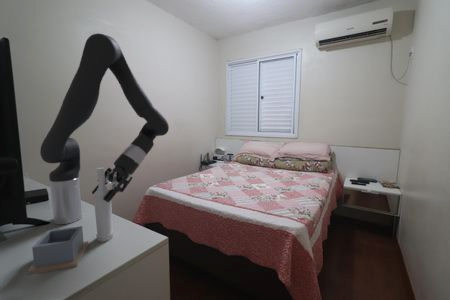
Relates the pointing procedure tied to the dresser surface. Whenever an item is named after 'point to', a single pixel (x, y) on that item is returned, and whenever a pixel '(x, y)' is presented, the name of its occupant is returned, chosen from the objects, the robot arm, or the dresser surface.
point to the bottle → (102, 209)
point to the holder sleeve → (58, 250)
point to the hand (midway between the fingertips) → (99, 197)
